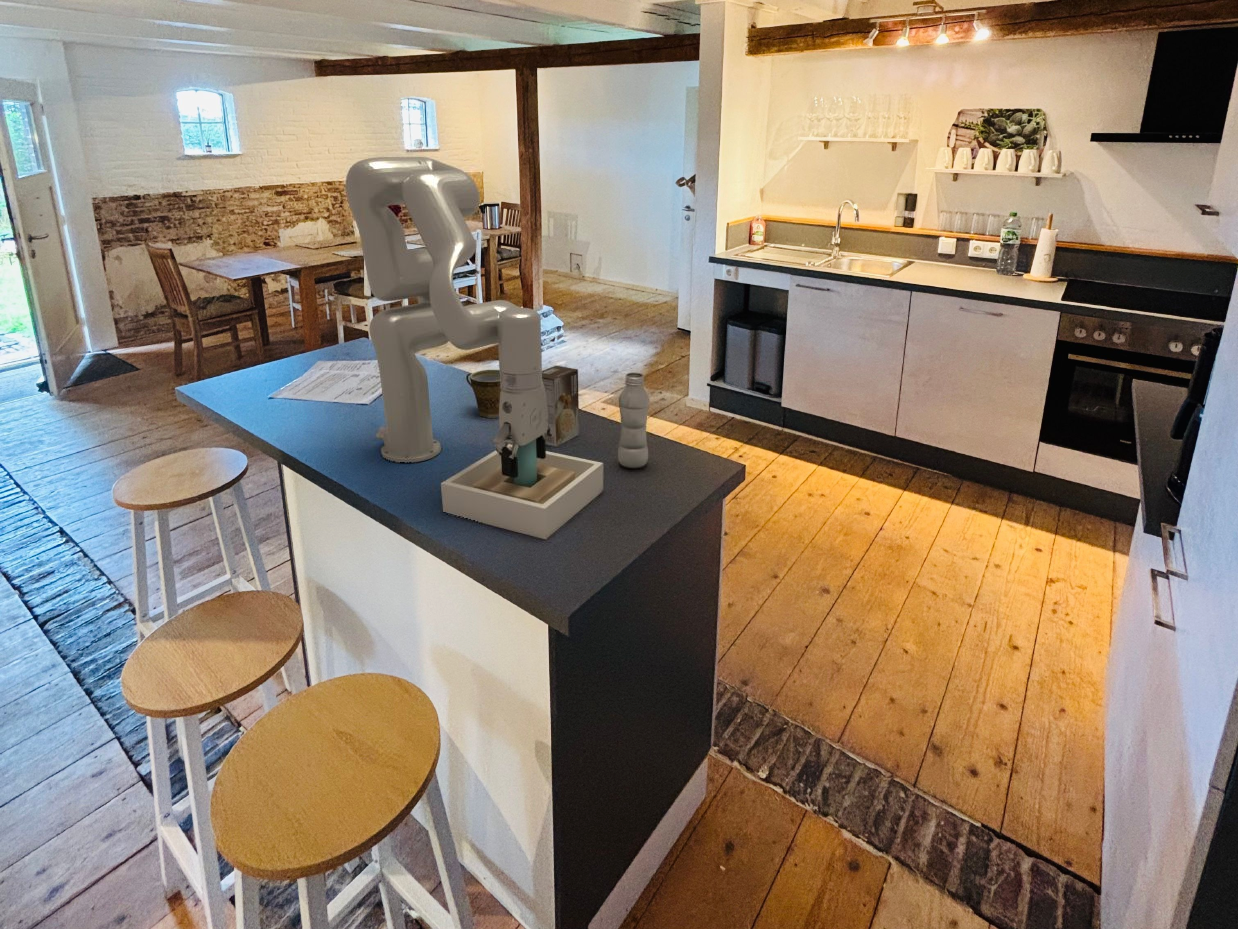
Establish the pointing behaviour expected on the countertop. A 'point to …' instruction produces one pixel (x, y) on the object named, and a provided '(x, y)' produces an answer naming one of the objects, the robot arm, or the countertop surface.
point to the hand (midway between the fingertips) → (524, 466)
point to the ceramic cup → (486, 391)
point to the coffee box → (561, 404)
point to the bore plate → (541, 492)
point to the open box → (517, 511)
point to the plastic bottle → (633, 422)
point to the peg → (526, 465)
